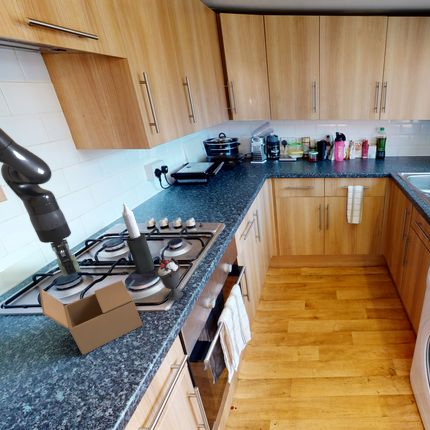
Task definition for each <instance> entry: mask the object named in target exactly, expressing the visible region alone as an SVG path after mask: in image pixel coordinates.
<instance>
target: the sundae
mask: <svg viewBox="0 0 430 430" xmlns="http://www.w3.org/2000/svg"><path fill="white" fill-rule="evenodd" d="M158 261H160V265H159V267H158V268H157V269H156V270H155V271H154V274H155V276H156V277H157V278H159V279H160V281H161V283H162V285H163V286H164V288H165V289H168V290H171V293H170V294H169V295H168V296H167V300H168V301H171V302H173V301H177V300H180V299H182V297H183V296H184V293H183V291H181V290H177V287H178V285H180V270H181V265H180V263H178V260H177V259H175V258H174V257H171V258H170V259H166V260H164V259H162V258H160V259H159V260H158Z"/></svg>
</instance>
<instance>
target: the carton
mask: <svg viewBox="0 0 430 430" xmlns="http://www.w3.org/2000/svg"><path fill="white" fill-rule="evenodd" d="M93 292H94V293H92V294H90V295H88V296H85V297H83V298H80V299H78V300H74V301H72V302H70V303H67V304H65V305H63V306H64V310H65V314H66V318H67V322H68V326H69V327H68V331H69V332H70V334H71V337H72V339H73V340H74V342H75V344H76V346H77V347H78V349H79V351H80V353H81V354H82V356H84V355H86V354H88V353H90V352H92V351H95V350H96V349H98V348H100V347H102V346H104V345H106V344H108V343H110V342H112V341H114V340H115V339H118V338H120V337H122V336H124V335H126V334H128V333H129V332H132V331H134V330H136V329H138V328H140V327H142V326H143V325H144V324H143V322H142V319H141V317H140V313H139V311H138V309H137V306H136V303H135V301H134V300H133V298H132V296H131V294H130V292H129V291H128V289H127V287H126V285H125V283H124V281H123V280H122V279H121V280H119V281H116V282H113V283H110V284H108V285H106V286H104V287H101V288H98V289H96V290H94V291H93Z"/></svg>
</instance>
